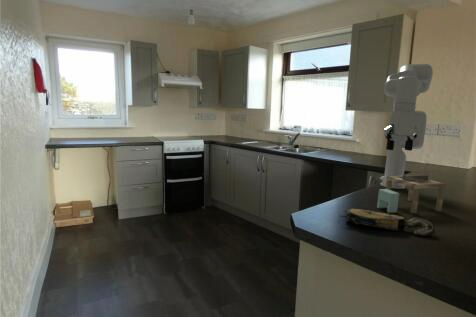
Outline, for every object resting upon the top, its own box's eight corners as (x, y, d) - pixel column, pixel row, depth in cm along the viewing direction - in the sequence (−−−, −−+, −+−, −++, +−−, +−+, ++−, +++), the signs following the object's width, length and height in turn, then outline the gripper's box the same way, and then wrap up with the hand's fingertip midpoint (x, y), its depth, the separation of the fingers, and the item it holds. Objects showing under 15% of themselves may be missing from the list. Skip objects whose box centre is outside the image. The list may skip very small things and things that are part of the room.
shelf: (384, 201, 138) (387, 171, 135) (409, 200, 142) (413, 171, 140) (413, 213, 123) (418, 180, 120) (441, 211, 127) (446, 179, 125)
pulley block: (440, 224, 93) (340, 207, 106) (438, 242, 93) (338, 223, 106) (433, 217, 106) (344, 203, 119) (431, 233, 106) (342, 217, 119)
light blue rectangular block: (376, 207, 129) (379, 189, 127) (384, 206, 130) (386, 189, 128) (389, 212, 122) (391, 193, 121) (396, 212, 123) (399, 193, 122)
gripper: (413, 109, 127) (407, 149, 130) (380, 107, 122) (375, 148, 124) (428, 109, 120) (423, 151, 123) (394, 106, 115) (389, 150, 117)
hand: (399, 150), depth 123 cm, fingers open, 9 cm apart
